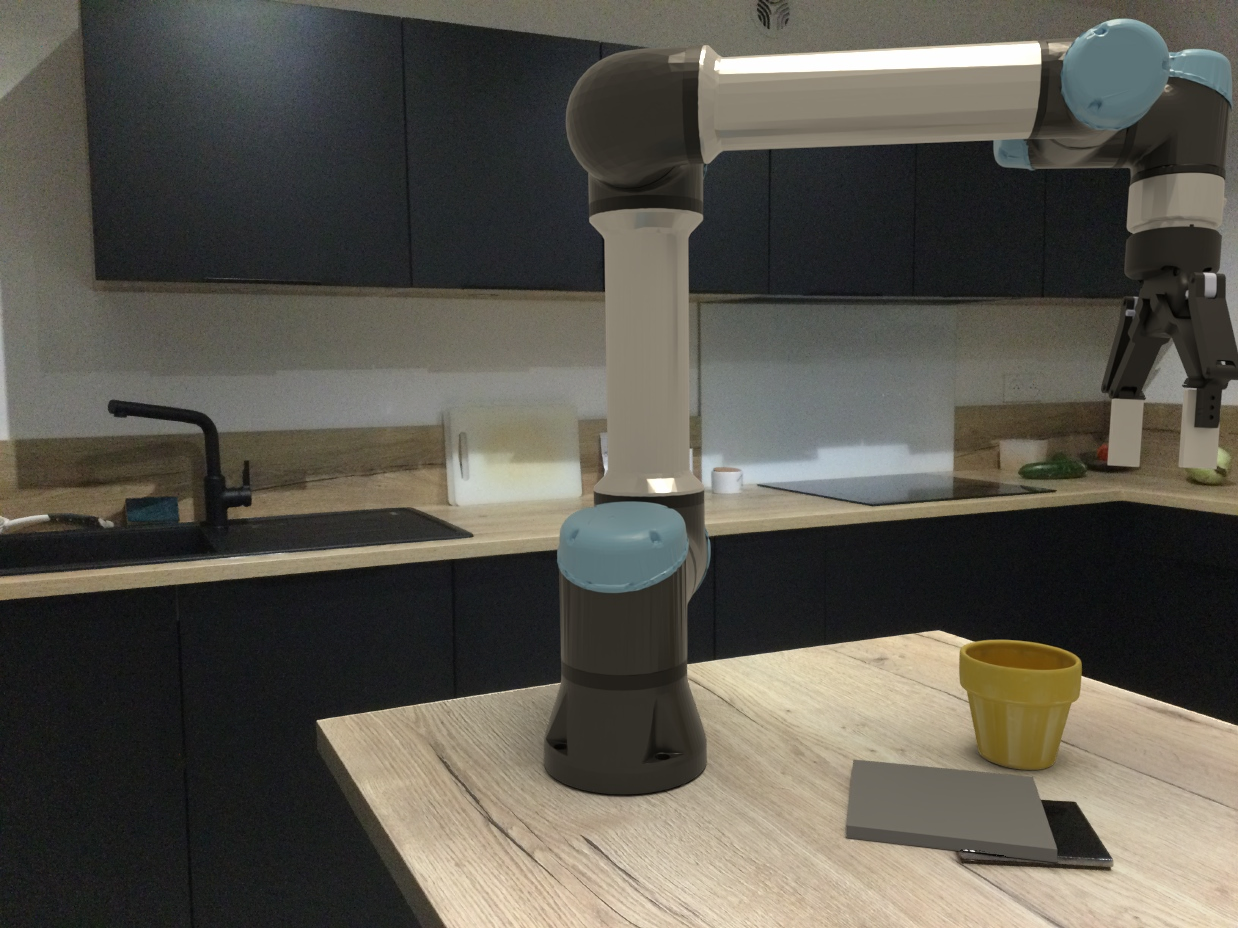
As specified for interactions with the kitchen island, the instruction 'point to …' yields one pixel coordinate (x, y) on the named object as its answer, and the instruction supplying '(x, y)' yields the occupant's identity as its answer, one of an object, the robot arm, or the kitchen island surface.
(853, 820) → the trivet mat
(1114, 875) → the kitchen island surface
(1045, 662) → the plant pot
